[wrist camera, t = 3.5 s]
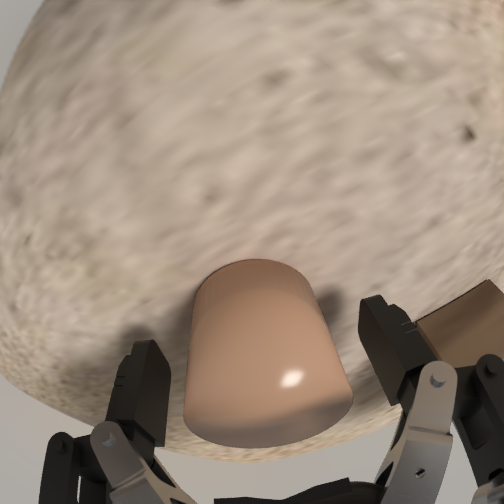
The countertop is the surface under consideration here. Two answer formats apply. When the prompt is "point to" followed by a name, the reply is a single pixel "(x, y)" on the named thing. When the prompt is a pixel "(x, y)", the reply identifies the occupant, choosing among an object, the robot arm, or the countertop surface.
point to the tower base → (467, 327)
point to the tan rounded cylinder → (261, 360)
